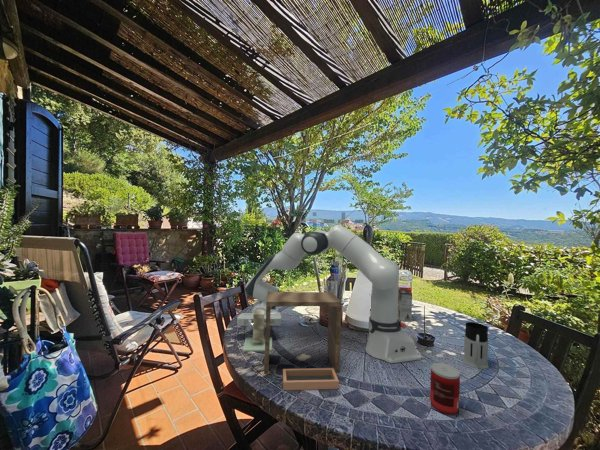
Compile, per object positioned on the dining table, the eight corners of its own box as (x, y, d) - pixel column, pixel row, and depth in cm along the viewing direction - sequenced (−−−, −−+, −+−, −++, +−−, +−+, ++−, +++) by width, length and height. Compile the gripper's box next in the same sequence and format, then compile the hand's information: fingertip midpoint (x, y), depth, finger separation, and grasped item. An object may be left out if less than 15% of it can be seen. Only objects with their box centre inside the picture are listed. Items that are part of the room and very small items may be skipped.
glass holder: (487, 361, 108) (488, 324, 108) (491, 378, 96) (492, 336, 96) (462, 355, 113) (463, 320, 113) (463, 370, 101) (464, 330, 101)
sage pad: (272, 338, 123) (272, 337, 123) (271, 351, 111) (271, 349, 111) (245, 339, 122) (245, 337, 122) (242, 351, 110) (242, 350, 110)
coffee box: (397, 315, 161) (398, 289, 161) (408, 317, 160) (409, 290, 160) (399, 321, 152) (400, 293, 152) (411, 322, 151) (412, 294, 151)
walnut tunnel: (331, 353, 110) (333, 292, 110) (339, 372, 96) (341, 302, 96) (265, 354, 108) (267, 291, 108) (264, 374, 94) (266, 301, 94)
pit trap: (333, 375, 95) (333, 368, 95) (338, 388, 87) (338, 381, 87) (282, 376, 93) (282, 368, 93) (283, 390, 85) (283, 382, 85)
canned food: (448, 397, 84) (449, 362, 84) (465, 415, 76) (466, 377, 76) (424, 397, 84) (425, 362, 84) (438, 415, 76) (440, 376, 76)
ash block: (263, 337, 119) (264, 311, 119) (263, 342, 114) (264, 314, 114) (253, 337, 118) (254, 311, 118) (252, 342, 114) (253, 314, 114)
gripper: (238, 308, 128) (234, 318, 115) (281, 308, 130) (282, 318, 116) (238, 321, 128) (234, 333, 115) (280, 321, 130) (281, 333, 116)
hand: (258, 325), depth 115 cm, fingers closed on ash block, 4 cm apart
